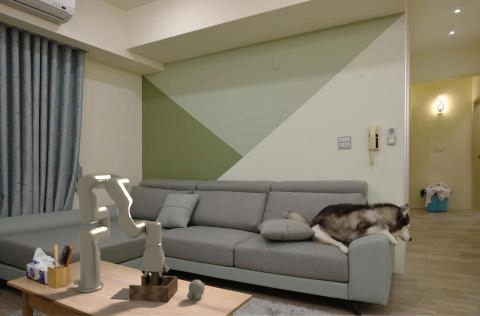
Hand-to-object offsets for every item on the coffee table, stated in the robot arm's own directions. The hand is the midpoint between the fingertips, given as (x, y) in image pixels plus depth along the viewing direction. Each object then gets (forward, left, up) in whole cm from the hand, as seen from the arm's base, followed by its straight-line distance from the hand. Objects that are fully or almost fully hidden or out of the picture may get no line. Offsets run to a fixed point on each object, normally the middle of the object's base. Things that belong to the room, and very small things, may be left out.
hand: (154, 283), depth 157 cm
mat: (-15, 0, -6) cm, 16 cm away
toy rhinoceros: (+22, 0, -6) cm, 23 cm away
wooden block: (0, 0, -6) cm, 6 cm away
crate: (0, 0, -6) cm, 6 cm away
